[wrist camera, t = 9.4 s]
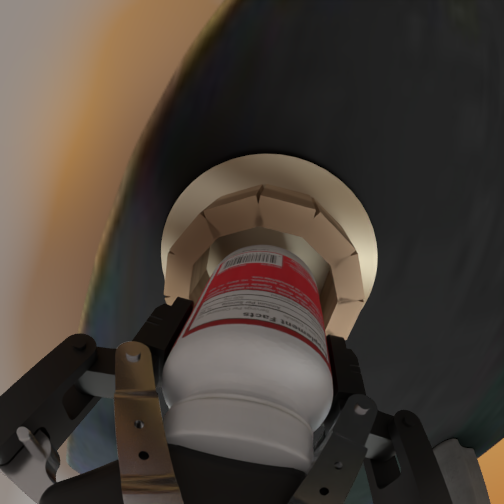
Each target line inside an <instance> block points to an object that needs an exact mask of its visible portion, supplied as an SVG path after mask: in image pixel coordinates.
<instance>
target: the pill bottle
mask: <svg viewBox="0 0 504 504" xmlns="http://www.w3.org/2000/svg"><path fill="white" fill-rule="evenodd" d="M162 391H163V395H164V398H165V401H166V403H167V405H168V407H169V410H168V412H167V413H166V414H165V416H164V417H163V425H164V430H165V435H166V440H167V443H169V444H174V445H180V446H184V447H187V448H190V449H194V450H197V451H201V452H205V453H209V454H213V455H217V456H221V457H226V458H231V459H236V460H241V461H246V462H252V463H258V464H264V465H271V466H279V467H289V468H294V469H297V470H300V471H303V472H305V473H306V472H307V470H308V469H309V467H310V466H311V464H312V462H313V460H314V451H313V432H314V431H315V430H317V429H318V427H319V426H320V425H321V424H322V423H323V421H324V420H325V418H326V417H327V415H328V413H329V411H330V408H331V404H332V400H333V383H332V373H331V366H330V360H329V353H328V346H327V340H326V334H325V327H324V321H323V315H322V309H321V304H320V299H319V294H318V289H317V285H316V281H315V279H314V276H313V274H312V272H311V270H310V269H309V268H308V266H307V265H306V264H305V263H304V262H303V261H302V260H301V259H300V258H299V257H298V256H296V255H295V254H293V253H292V252H290V251H288V250H286V249H283V248H280V247H277V246H272V245H251V246H247V247H243V248H240V249H238V250H236V251H234V252H232V253H231V254H229V255H228V256H227V257H225V258H224V259H223V260H222V261H221V262H220V263H219V264H218V266H217V267H216V269H215V270H214V271H213V273H212V275H211V277H210V279H209V280H208V282H207V284H206V286H205V288H204V290H203V292H202V294H201V295H200V297H199V299H198V301H197V303H196V305H195V306H194V308H193V310H192V312H191V314H190V316H189V318H188V320H187V321H186V323H185V325H184V327H183V329H182V331H181V332H180V334H179V336H178V338H177V340H176V342H175V343H174V345H173V347H172V349H171V351H170V353H169V355H168V358H167V360H166V362H165V365H164V368H163V372H162Z"/></svg>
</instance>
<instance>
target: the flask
mask: <svg viewBox="0 0 504 504" xmlns="http://www.w3.org/2000/svg"><path fill="white" fill-rule="evenodd" d="M433 452H434V454H435V457H436V459H437V462H438V464H439V467H440V470H441V472H442V475H443V477H444V480H445V483H446V486H447V488H448V491H449V494H450V497H451V500H452V503H453V504H490V499H489V496H488V492H487V489H486V485H485V482H484V479H483V475H482V472H481V470H480V466H479V464H478V460H477V458H476V455H475V452H474V449H473V448H465V447H462V446H461V445H460V444H459V442H458V439H449V440H446V441H444V442H442V443H440V444H439V445H437V446H436V447H434V449H433Z"/></svg>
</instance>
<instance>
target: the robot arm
mask: <svg viewBox="0 0 504 504" xmlns="http://www.w3.org/2000/svg"><path fill="white" fill-rule="evenodd" d="M193 305H194V301H192V300H188V299H185V298H181V297H177V298H176V300H175V301H174V302H173V304H172V305H171V306H170V305H167V304H163V305H161V306H159V307H157V308H156V309H155V310H154V311H153V313H152V314H151V316H150V317H149V318H148V319H147V322H145V324H144V325H143V326H142V328H141V329H140V331H139V332H138V333H137V335H136V336H135V337H134V339H133V340H132V341H129V342H124V343H122V344H121V345H119V346H118V347H117V349H110V348H103V347H96V342H95V340H94V339H93V338H92V337H90V336H89V335H86V334H74V335H71V336H69V337H68V338H66V339H65V340H64V341H63V342H62V343H60V344H59V345H58V346H57V347H56V348H54V349H53V350H52V351H51V352H50V353H49V354H47V355H46V356H45V357H44V358H43V359H42V360H40V361H39V362H38V363H37V364H36V365H35V366H34V367H32V368H31V369H30V370H29V371H28V372H27V373H26V374H24V375H23V376H22V377H21V378H20V379H19V380H18V381H17V382H16V383H14V384H13V385H12V386H11V387H10V388H9V389H8V390H7V391H6V392H5V393H3V394H2V395H1V396H0V472H1V473H2V474H3V475H5V476H7V477H8V478H9V479H10V480H11V481H13V482H14V483H15V484H16V485H17V486H18V487H19V488H20V489H21V490H22V491H23V492H25V494H27V495H28V496H29V497H30V498H31V499H32V500H33V501H35V502H36V503H37V504H343V503H344V501H345V499H346V497H347V495H348V493H349V491H350V489H351V487H352V485H353V483H354V481H355V479H356V477H357V474H358V472H359V470H360V468H361V465H362V463H363V462H364V466H365V470H366V474H367V478H368V482H369V486H370V490H371V494H372V499H373V503H374V504H453V503H452V500H451V497H450V494H449V491H448V488H447V486H446V483H445V480H444V477H443V475H442V472H441V470H440V467H439V464H438V462H437V459H436V457H435V454H434V452H433V450H432V447H431V445H430V442H429V440H428V438H427V435H426V433H425V431H424V429H423V426H422V424H421V422H420V420H419V418H418V417H417V416H416V415H415V414H414V413H412V412H411V411H408V410H401V411H398V412H397V413H396V414H395V415H394V416H391V415H389V414H386V413H383V412H380V411H378V409H377V406H376V404H375V402H374V401H373V400H372V399H371V398H369V397H368V396H366V393H365V388H364V384H363V380H362V375H361V374H360V373H361V371H360V367H359V363H358V359H357V357H356V355H355V354H354V353H353V351H352V350H351V349H346V344H345V340H344V338H343V337H339V336H334V335H329V334H328V335H327V336H326V340H327V346H328V353H329V360H330V366H331V373H332V383H333V400H332V404H331V408H330V411H329V413H328V415H327V417H326V418H325V420H324V421H323V423H322V424H321V425H322V426H324V429H325V431H324V432H323V433H322V434H321V436H320V438H319V439H318V441H317V442H316V444H315V446H314V447H313V451H314V460H313V462H312V464H311V466H310V467H309V469H308V470H307V472H306V473H305V472H303V471H300V470H297V469H294V468H289V467H279V466H271V465H264V464H258V463H252V462H246V461H241V460H236V459H231V458H226V457H221V456H217V455H213V454H209V453H205V452H201V451H197V450H194V449H190V448H187V447H184V446H180V445H174V444H169V443H167V440H166V435H165V430H164V425H163V420H162V415H161V409H160V403H159V398H158V393H156V387H158V388H161V389H162V372H163V368H164V365H165V362H166V360H167V358H168V355H169V353H170V351H171V349H172V347H173V345H174V343H175V342H176V340H177V338H178V336H179V334H180V332H181V331H182V329H183V327H184V325H185V323H186V321H187V320H188V318H189V316H190V314H191V312H192V310H193ZM102 397H105V398H112V399H114V413H115V429H116V441H117V451H118V460H116V461H113V462H111V463H108V464H106V465H104V466H101V467H99V468H96V469H94V470H91V471H88V472H86V473H83V474H80V475H78V476H75V477H72V478H69V479H66V480H63V481H60V482H56V472H57V470H58V468H59V465H60V457H59V454H58V452H57V450H58V449H59V447H60V446H61V445H62V444H63V443H64V441H65V440H66V439H67V438H68V437H69V435H70V434H71V433H72V432H73V431H74V429H75V428H76V427H77V426H78V425H79V424H80V422H81V421H82V420H83V419H84V418H85V416H86V415H87V414H88V413H89V412H90V411H91V409H92V408H93V407H94V406H95V405H96V403H97V402H98V401H99V400H100V399H101V398H102ZM395 454H397V457H398V460H399V463H400V467H401V474H400V471H399V467H398V464H397V461H396V458H395Z"/></svg>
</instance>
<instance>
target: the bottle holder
mask: <svg viewBox="0 0 504 504" xmlns="http://www.w3.org/2000/svg"><path fill="white" fill-rule="evenodd" d="M251 245H272V246H277V247H280V248H283V249H286V250H288V251H290V252H292V253H293V254H295V255H296V256H298V257H299V258H300V259H301V260H302V261H303V262H304V263H305V264H306V265H307V266H308V268H309V269H310V270H311V272H312V274H313V276H314V279H315V281H316V285H317V289H318V294H319V299H320V304H321V309H322V315H323V321H324V327H325V334H326V336H327V335H328V334H329V335H334V336H339V337H343V338H344V340H346V339H347V337H348V335H349V333H350V331H351V329H352V327H353V325H354V323H355V321H356V319H357V317H358V315H359V313H360V311H361V309H362V308H363V306H364V304H365V303H366V301H367V299H368V297H369V295H370V292H371V289H372V287H373V284H374V280H375V275H376V271H377V257H378V256H377V244H376V239H375V234H374V230H373V227H372V224H371V222H370V219H369V217H368V215H367V213H366V211H365V209H364V208H363V206H362V204H361V202H360V201H359V200H358V199H357V197H356V196H355V195H354V194H353V192H352V191H351V190H350V189H349V188H348V187H347V186H346V185H345V184H344V183H343V182H342V181H341V180H339V179H338V178H337V177H335V176H334V175H332V174H331V173H329V172H328V171H327V170H325V169H323V168H321V167H319V166H317V165H315V164H313V163H311V162H309V161H306V160H303V159H300V158H297V157H292V156H287V155H282V154H254V155H247V156H243V157H239V158H235V159H231V160H229V161H226V162H224V163H221V164H219V165H216V166H215V167H213V168H211V169H210V170H208V171H206V172H204V173H203V174H202V175H200V176H199V177H198V178H197V179H195V180H194V181H193V182H192V183H191V184H190V185H189V186H188V187H187V188H186V189H185V190H184V191H183V192H182V194H181V195H180V196H179V198H178V199H177V201H176V202H175V204H174V205H173V207H172V209H171V211H170V213H169V215H168V218H167V221H166V224H165V227H164V231H163V236H162V242H161V260H162V269H163V273H164V277H165V288H164V295H166V297H165V300H166V302H167V304H168V305H170V306H171V305H172V304H173V302H174V301H175V300H176V298H177V297H181V298H185V299H188V300H192V301H194V305H193V308H194V306H195V305H196V303H197V301H198V299H199V297H200V295H201V294H202V292H203V290H204V288H205V286H206V284H207V282H208V280H209V279H210V277H211V275H212V273H213V271H214V270H215V269H216V267H217V266H218V264H219V263H220V262H221V261H222V260H223V259H224V258H225V257H227V256H228V255H229V254H231V253H232V252H234V251H236V250H238V249H240V248H243V247H247V246H251Z"/></svg>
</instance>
